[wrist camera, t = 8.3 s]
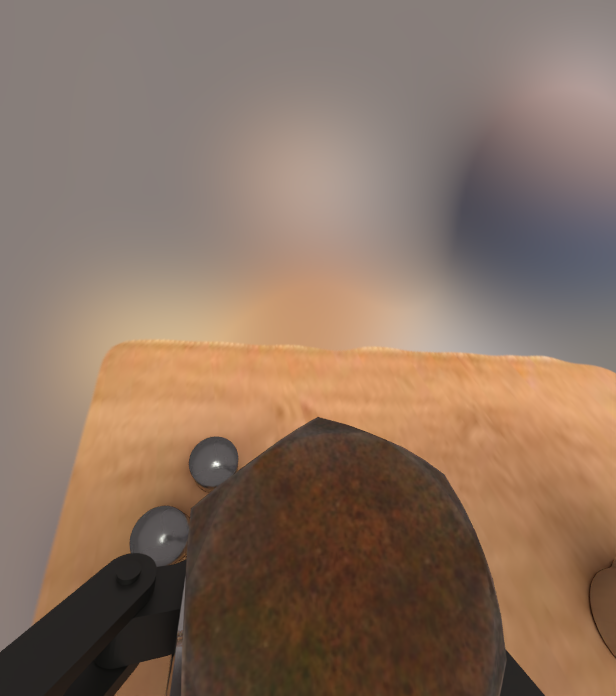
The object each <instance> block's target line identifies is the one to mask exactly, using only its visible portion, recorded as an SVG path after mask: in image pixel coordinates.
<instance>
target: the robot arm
mask: <svg viewBox="0 0 616 696" xmlns="http://www.w3.org/2000/svg"><path fill="white" fill-rule="evenodd" d="M186 560H187V559H186ZM186 560H184V561H182V562H180V563H177V564H173V565H167V566H160V567H157V566H156V563H155V561H154V560H153V559H152V558H151V557H149V556H148V555H145V554H142V553H131V554H126V555H123V556H120V557H118V558H116V559H114V560H113V561H111V562H110V563H109V564H108V565H106V566H105V567H104V568H103V569H101V570H100V571H99V572H98V573H97V574H95V575H94V576H93V577H92V578H90V579H89V580H88V581H87V582H86V583H84V584H83V585H82V586H81V587H79V588H78V589H77V590H76V591H75V592H73V593H72V594H71V595H70V596H68V597H67V598H66V599H65V600H63V601H62V602H61V603H60V604H59V605H57V606H56V607H55V608H54V609H52V610H51V611H50V612H49V613H48V614H46V615H45V616H44V617H43V618H41V619H40V620H39V621H38V622H37V623H35V624H34V625H33V626H32V627H30V628H29V629H28V630H27V631H26V632H24V633H23V634H22V635H21V636H20V637H18V638H17V639H16V640H15V641H13V642H12V643H11V644H10V645H8V646H7V647H6V648H5V649H3V650H2V651H1V652H0V696H114V695H115V694H116V692H117V691H118V690H119V689H120V687H121V686H122V685H123V683H124V682H125V681H126V680H127V678H128V677H129V676H130V675H131V673H132V672H133V671H134V670H135V668H136V667H137V666H138V664H139V663H140V662H144V661H148V660H152V659H156V658H160V657H164V656H168V655H171V660H170V667H169V673H168V680H167V687H166V693H165V696H181V674H182V640H183V620H184V600H185V580H186ZM590 602H591V609H592V613H593V617H594V620H595V622H596V625H597V627H598V630H599V632H600V634H601V636H602V638H603V640H604V641H605V643H606V645H607V646H608V648H609V649H610V650H611V652H612V653H613V655H614V656H615V657H616V560H614V561H613V564H612V566H611V567H610V568H606V569H602V570H601V571H599V572H598V573H597V574H596V575H595V577H594V578H593V581H592V584H591V588H590ZM505 651H506V659H507V661H506V666H505V671H504V676H503V682H502V687H501V692H500V696H545V695H544V694H543V693H542V691H541V690H540V689H539V688H538V687H537V686H536V684H535V683H534V682H533V681H532V680H531V679H530V677H529V676H528V675H527V674H526V673H525V672H524V670H523V669H522V668H521V667H520V666H519V665H518V663H517V662H516V661H515V660H514V659H513V658H512V656H511V655H510V654H509V653H508V652H507V650H506V649H505Z"/></svg>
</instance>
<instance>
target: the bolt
mask: <svg viewBox="0 0 616 696" xmlns="http://www.w3.org/2000/svg"><path fill="white" fill-rule="evenodd" d="M506 661H507V659H506V651H505V643H504V635H503V627H502V619H501V613H500V609H499V604H498V600H497V596H496V591H495V587H494V582H493V578H492V576H491V573H490V570H489V567H488V564H487V561H486V558H485V555H484V552H483V550H482V547H481V545H480V542H479V540H478V537H477V535H476V532H475V530H474V528H473V526H472V524H471V522H470V519H469V517H468V515H467V513H466V511H465V509H464V507H463V505H462V503H461V502H460V500H459V498H458V497H457V495H456V493H455V492H454V490H453V488H452V487H451V485H450V483H449V482H448V480H447V478H446V477H445V475H444V474H443V473H441V472H440V471H439V470H437V469H436V468H435V467H433V466H432V465H430V464H429V463H428V462H426V461H425V460H423V459H422V458H420V457H418V456H417V455H415V454H413V453H412V452H410V451H408V450H406V449H405V448H403V447H401V446H399V445H396V444H394V443H392V442H390V441H387V440H385V439H382V438H380V437H378V436H375V435H373V434H370V433H368V432H365V431H362V430H360V429H357V428H354V427H352V426H349V425H346V424H342V423H339V422H335V421H331V420H327V419H323V418H320V417H317V418H315V419H313V420H312V421H310V422H308V423H307V424H305V425H303V426H301V427H300V428H298V429H296V430H295V431H293V432H292V433H290V434H289V435H287V436H286V437H284V438H283V439H281V440H280V441H278V442H277V443H275V444H274V445H273V446H271V447H270V448H269V449H267V450H266V451H265V452H263V453H262V454H260V455H259V456H258V457H256V458H255V459H254V460H252V461H251V462H250V463H248V464H247V465H246V466H244V467H243V468H241V469H240V470H239V471H237V472H236V473H235V474H233V475H232V476H231V477H229V478H228V479H227V480H225V481H224V482H223V483H221V484H220V485H219V486H218V487H216V488H215V489H214V490H213V491H212V492H210V493H209V494H208V495H207V496H206V497H204V498H203V499H202V500H201V501H200V502H198V503H197V504H196V505H195V506H193V507H192V508H191V514H190V524H189V534H188V544H187V560H186V580H185V600H184V620H183V640H182V674H181V696H500V692H501V687H502V682H503V676H504V671H505V666H506Z"/></svg>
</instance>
